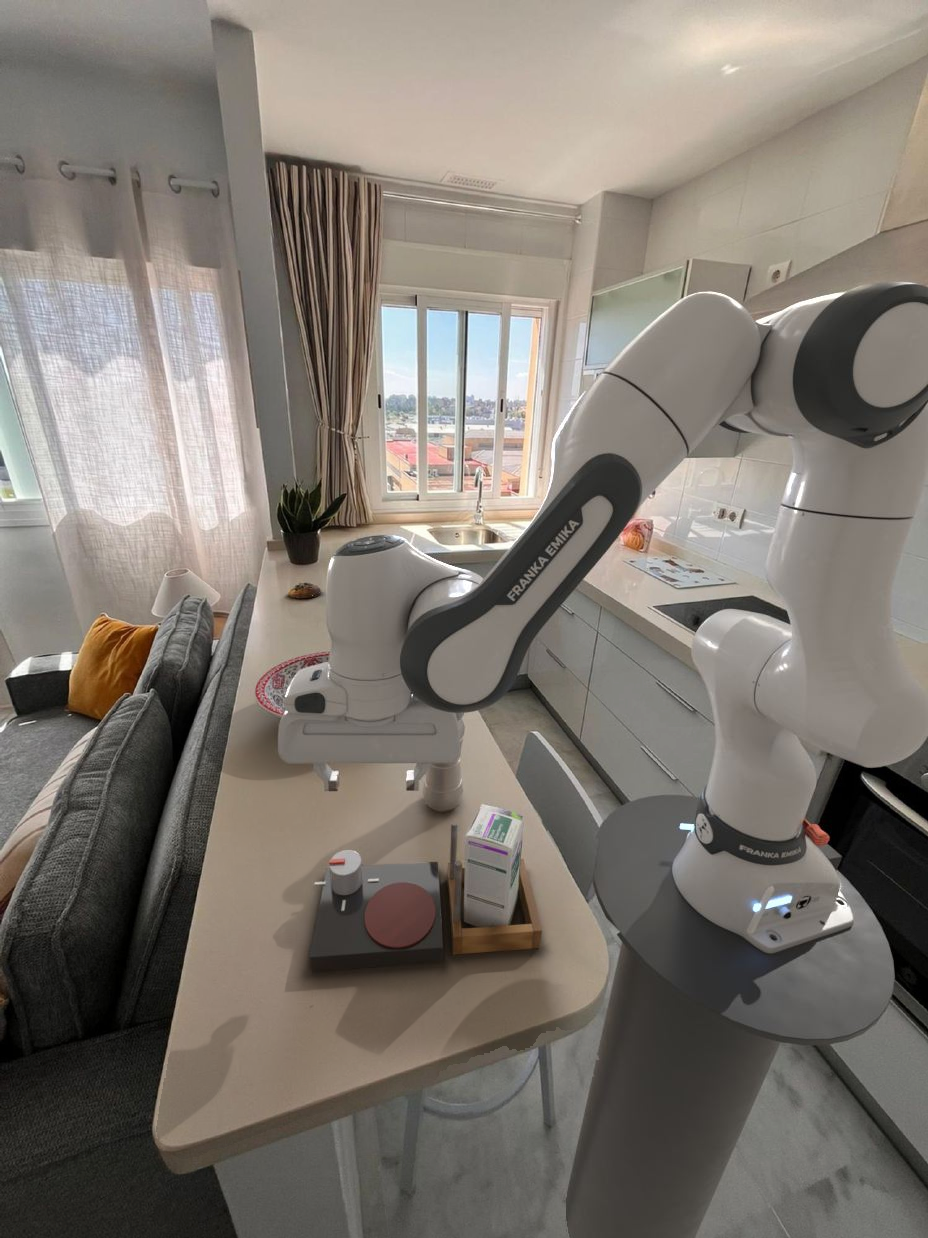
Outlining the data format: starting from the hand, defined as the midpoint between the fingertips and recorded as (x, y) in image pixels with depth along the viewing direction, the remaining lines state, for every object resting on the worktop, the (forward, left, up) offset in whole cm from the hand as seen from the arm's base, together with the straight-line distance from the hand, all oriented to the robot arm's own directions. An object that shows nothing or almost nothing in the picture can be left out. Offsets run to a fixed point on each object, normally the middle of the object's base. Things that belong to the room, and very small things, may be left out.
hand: (372, 787), depth 59 cm
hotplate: (-3, +5, -15) cm, 16 cm away
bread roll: (+33, -124, -18) cm, 130 cm away
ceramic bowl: (+12, -45, -18) cm, 50 cm away
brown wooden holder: (-15, +3, -18) cm, 23 cm away
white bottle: (-10, -17, -18) cm, 27 cm away
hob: (-1, +3, -18) cm, 18 cm away
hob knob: (+4, 0, -15) cm, 16 cm away
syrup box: (-15, +3, -18) cm, 24 cm away
